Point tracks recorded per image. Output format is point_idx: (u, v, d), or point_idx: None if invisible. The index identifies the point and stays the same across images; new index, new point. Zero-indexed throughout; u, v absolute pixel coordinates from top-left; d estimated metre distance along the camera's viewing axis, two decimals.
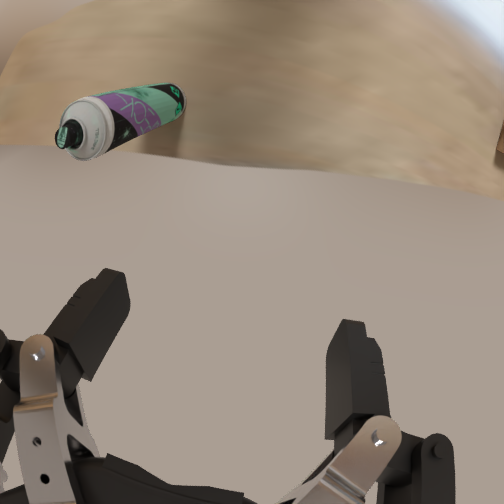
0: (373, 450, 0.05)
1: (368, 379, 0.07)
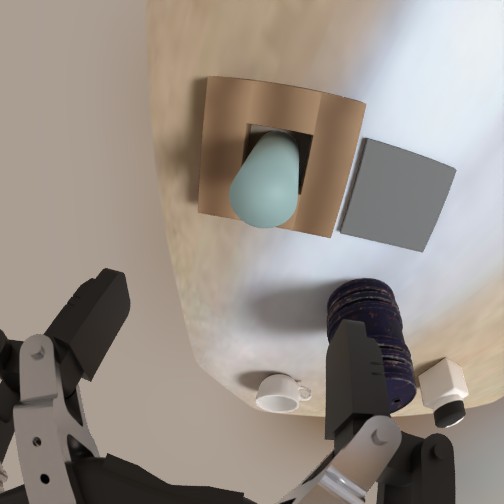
0: (373, 450, 0.05)
1: (368, 379, 0.07)
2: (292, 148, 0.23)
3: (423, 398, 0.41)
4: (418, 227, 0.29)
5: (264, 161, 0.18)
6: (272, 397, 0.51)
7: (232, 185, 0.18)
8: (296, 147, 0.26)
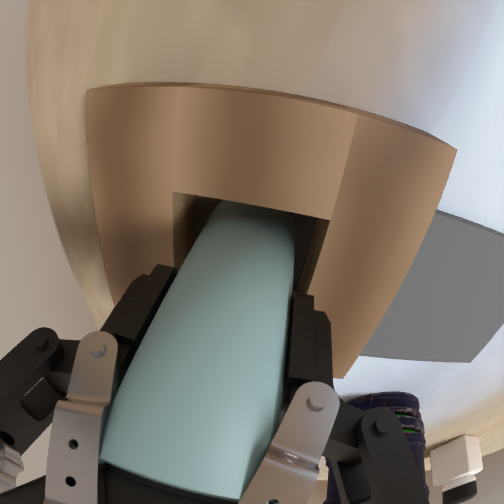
0: (312, 418, 0.06)
1: (309, 347, 0.08)
2: (277, 263, 0.10)
3: (433, 477, 0.28)
4: (474, 338, 0.16)
5: (157, 438, 0.04)
6: None
7: None
8: (288, 240, 0.12)
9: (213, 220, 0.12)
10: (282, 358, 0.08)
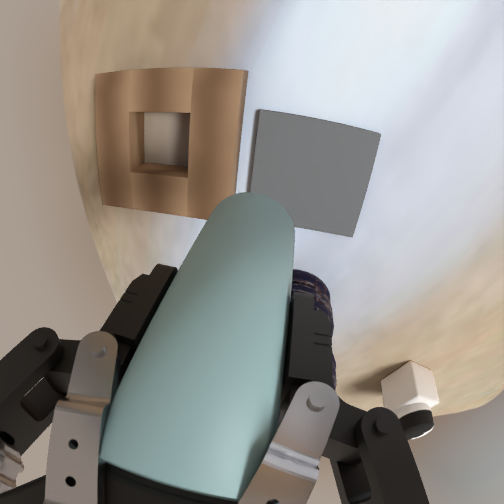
0: (312, 418, 0.06)
1: (309, 347, 0.08)
2: (276, 263, 0.10)
3: (384, 406, 0.39)
4: (340, 207, 0.27)
5: (155, 438, 0.04)
6: None
7: None
8: (288, 241, 0.12)
9: (212, 220, 0.12)
10: (280, 358, 0.08)
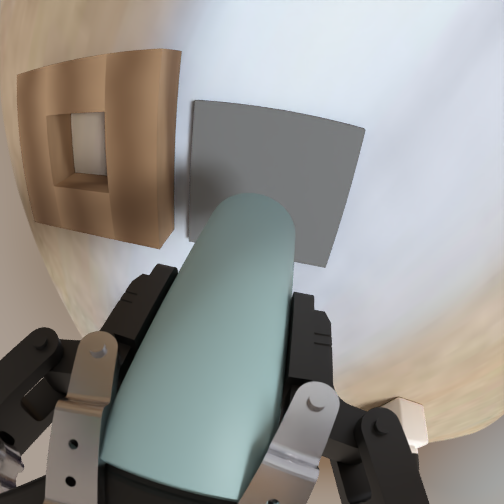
0: (312, 418, 0.06)
1: (309, 347, 0.08)
2: (277, 264, 0.10)
3: None
4: (308, 230, 0.21)
5: (157, 439, 0.04)
6: None
7: None
8: (288, 241, 0.12)
9: (213, 221, 0.12)
10: (282, 359, 0.08)
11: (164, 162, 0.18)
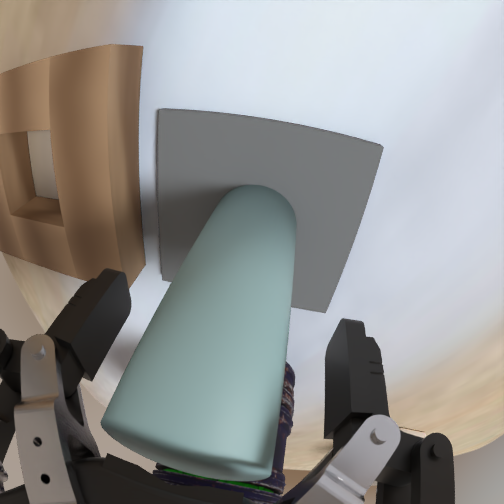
0: (372, 449, 0.05)
1: (367, 378, 0.07)
2: (279, 247, 0.11)
3: None
4: (305, 272, 0.17)
5: (169, 396, 0.05)
6: None
7: (104, 426, 0.06)
8: (290, 229, 0.13)
9: (219, 209, 0.13)
10: (284, 332, 0.08)
11: (123, 190, 0.14)
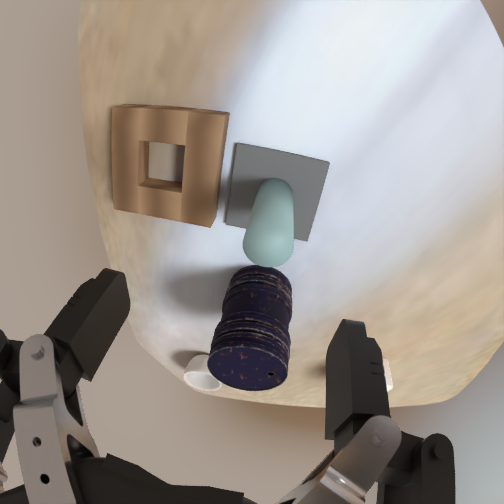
0: (373, 450, 0.05)
1: (368, 379, 0.07)
2: (288, 198, 0.31)
3: None
4: (297, 218, 0.37)
5: (269, 219, 0.25)
6: (201, 376, 0.57)
7: (245, 236, 0.25)
8: (291, 194, 0.33)
9: (264, 186, 0.33)
10: (292, 219, 0.28)
11: (218, 177, 0.34)
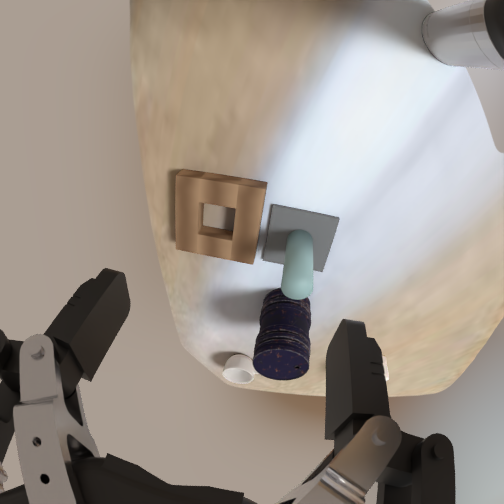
0: (373, 450, 0.05)
1: (368, 379, 0.07)
2: (310, 249, 0.44)
3: None
4: (315, 256, 0.50)
5: (298, 271, 0.39)
6: (236, 372, 0.72)
7: (283, 282, 0.39)
8: (312, 243, 0.46)
9: (293, 238, 0.46)
10: (312, 266, 0.42)
11: (259, 229, 0.48)
